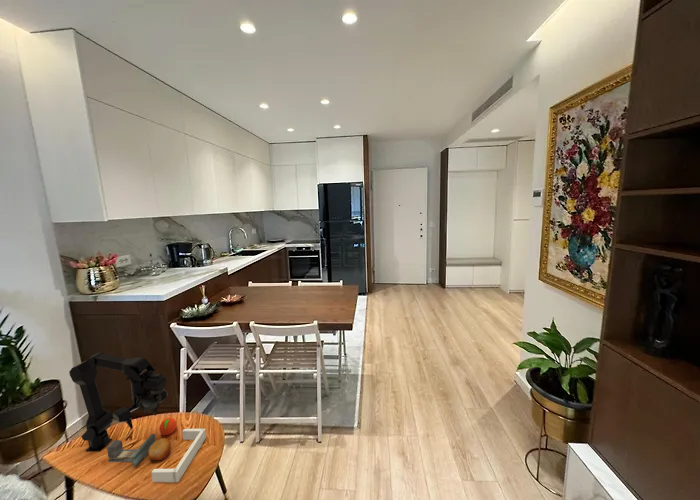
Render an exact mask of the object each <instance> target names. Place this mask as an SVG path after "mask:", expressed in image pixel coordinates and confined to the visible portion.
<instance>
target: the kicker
mask: <svg viewBox="0 0 700 500" xmlns="http://www.w3.org/2000/svg"><path fill="white" fill-rule="evenodd" d="M155 434H156V433H151V434H150V435H149V436H148V437H147V439H146V440H145V441H144V442H143V443H142V444H141V445H140V446H139V448H137V449H138V450H137V451H123V450H124V447H123V446H124V445H123V440H121V439H120V440H116V439H115V440H112V441H111V443H109V444H107V445H106V446H107V447H106V450H107V456H108V460H110V459H132V462H131V463H132V467H137V466H138V465H139V464H140V462H141V461H142V460H143V459H146V458H147V456H149V455H148V450H149V448H150V446H151V445H152V444H153V443H154V442H155V441H156V440H157V439H156V435H155Z"/></svg>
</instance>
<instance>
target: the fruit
mask: <svg viewBox="0 0 700 500" xmlns="http://www.w3.org/2000/svg"><path fill="white" fill-rule="evenodd" d="M155 440H156V441H155V442H154V443H153V444H152V445H151V446H150V448H149V450H148V455H147V456H148V457H149V459H150V460H153V461H161V460H165V459H166V458H167V457H168V456H169V455H170V453H171V446H172V445H171V441H170V440H169V438H166V437H161V438H158V439H155Z"/></svg>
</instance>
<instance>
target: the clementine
mask: <svg viewBox="0 0 700 500" xmlns="http://www.w3.org/2000/svg"><path fill="white" fill-rule="evenodd" d="M176 428H177V420H176V419H175V418H173V417H167V418H165V419H164V420H162V421H161V422H160V424H159V429H158V430H159V433H160V434H161V435H163V436H167V435H171V434H172V433H174V431H175V430H176Z"/></svg>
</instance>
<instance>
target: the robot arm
mask: <svg viewBox="0 0 700 500" xmlns="http://www.w3.org/2000/svg"><path fill="white" fill-rule="evenodd" d="M98 367H100V368H104V369H110V370H114V371H115V370H116V371H119V372H121V373H122V374H123V375H124V376H126V378H125V381H130V389H131V391H130V392H129V393H130V395H131V398H132V399H131V404H132V405H131V406H129V407H126V406H121V407H120V408H117V409H116V410H114V411H113V412H112V411H111V410H106V409H105V408H104V406H103V401H102V399H101V396H100V392H99V389H98V386H97V383H96V382H97V381H96V377H97V373H98ZM146 370H147V371H146ZM144 371H145V372H144ZM68 372H69V373H68V374H69V377H70V378H71V381H72V382H73V383H74V384H76V385H79V388H80V391H81V394H82V398H83V400H84V405H85V408H86V412H87V414H88V417H87V420H86V424H85V427H86V430H85V431H84V432H83V434H82V435H81V438H82V440H83V441H87V443H88V448H87V449H86V450H85V451H86V452H101V451H102V450H103V449H105V447H106V446H108V445H109V444H110V442H112V441H113V439H112V438H110V436H109V433H108V429H109V428H111V426H112V425H111V424H112V423H113V419H114V420H115V421H117V422H119V423H122V422H125V423H126V424H127V426H128V427H129V429H131V430H133V428H134V427H133V421H132V418H133V416H132V414H131V413H132V412H134V411H135V410H138V409H139V408H140V409H141V411H142V412H143V413H145V414H146V413H148V412H150V411H151V410H152V413H153V416H157V413H158V410H159V407H160V404H161V403H162V402H163V401H165V398H168V396H169V395H168V391H167V390H165V387H166V385H167V382H168V381H167V380H168V379H167V377H166V376H164V375H163V374H162V373H155V372H156V369H155V368H154V366H153V365H152V364H151V363H150V362H149V361H148V359H146V357H137V356H136V357H131V358H125V357H120V356H116V355H111V354H105V353H104V352H97V353H95V354H94V355H91V356H90V357H89V358H88V359H87V360H85V361H83V362H81V363H79V364H77V365H75V366H73V367H72V368H71V369H70V370H69V371H68Z"/></svg>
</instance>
